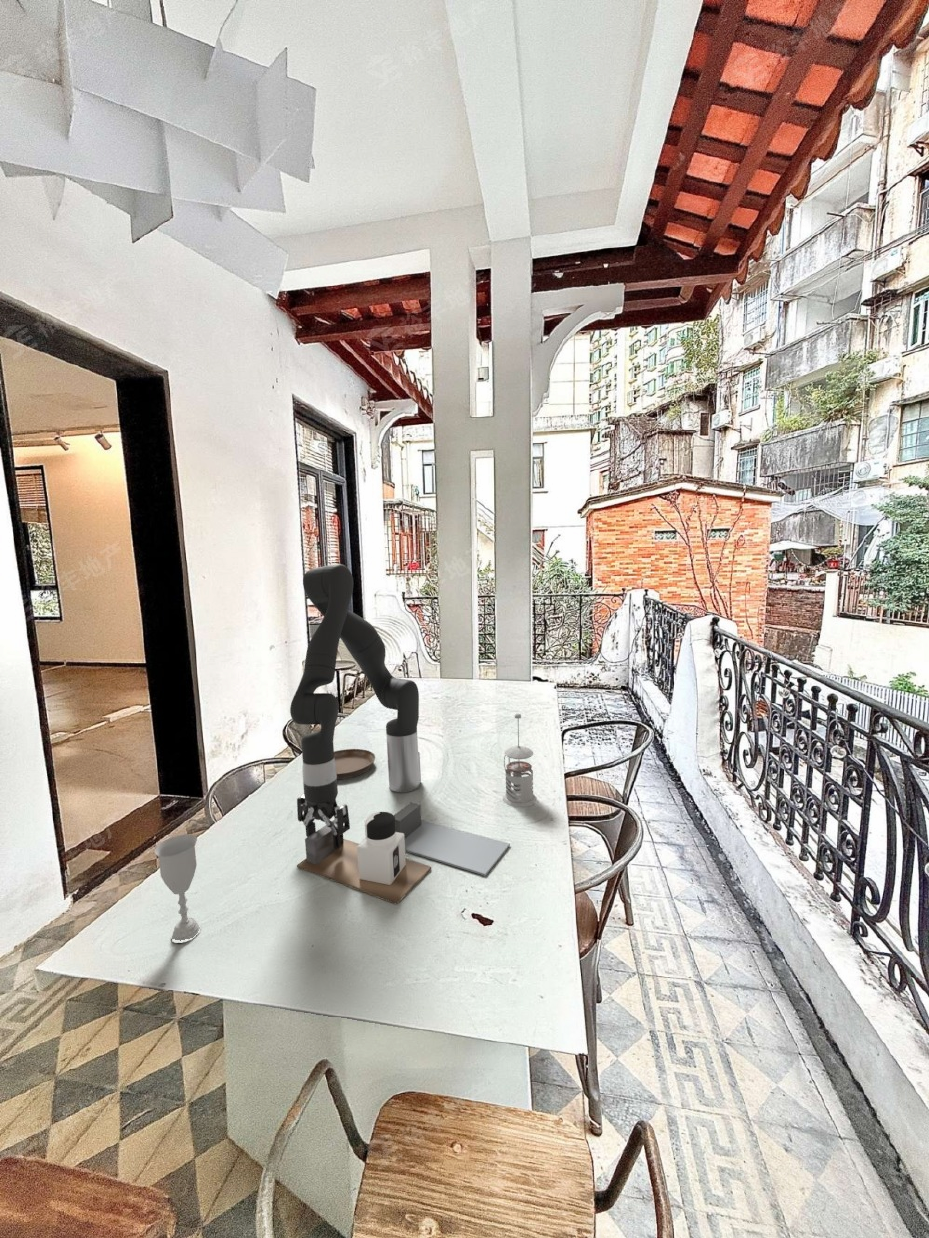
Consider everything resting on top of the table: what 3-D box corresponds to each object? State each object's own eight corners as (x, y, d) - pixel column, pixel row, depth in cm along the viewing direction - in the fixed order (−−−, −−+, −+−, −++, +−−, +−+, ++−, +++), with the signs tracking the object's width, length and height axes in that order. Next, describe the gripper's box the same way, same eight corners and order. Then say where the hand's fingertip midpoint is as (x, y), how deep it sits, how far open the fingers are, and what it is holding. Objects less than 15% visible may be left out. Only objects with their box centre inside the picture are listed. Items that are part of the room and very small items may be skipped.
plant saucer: (298, 778, 165) (297, 768, 165) (337, 754, 184) (336, 745, 184) (352, 787, 157) (352, 776, 157) (387, 761, 176) (386, 752, 176)
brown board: (337, 838, 128) (335, 815, 127) (431, 868, 114) (430, 843, 114) (297, 866, 117) (295, 842, 116) (396, 904, 103) (394, 876, 102)
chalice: (176, 921, 100) (166, 835, 98) (212, 918, 101) (203, 832, 99) (157, 950, 93) (146, 858, 91) (196, 946, 94) (186, 855, 91)
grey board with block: (413, 819, 136) (412, 797, 135) (509, 845, 122) (509, 821, 122) (382, 844, 125) (381, 821, 124) (485, 875, 111) (484, 850, 110)
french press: (514, 810, 139) (512, 721, 136) (492, 793, 150) (490, 710, 146) (544, 801, 144) (542, 715, 141) (521, 785, 154) (519, 704, 151)
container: (406, 864, 115) (403, 810, 114) (390, 886, 108) (387, 828, 106) (375, 859, 118) (372, 805, 116) (358, 879, 111) (354, 823, 109)
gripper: (354, 776, 119) (358, 842, 121) (309, 766, 125) (314, 828, 127) (331, 790, 112) (336, 859, 114) (285, 778, 119) (290, 843, 121)
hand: (324, 843), depth 121 cm, fingers open, 8 cm apart
